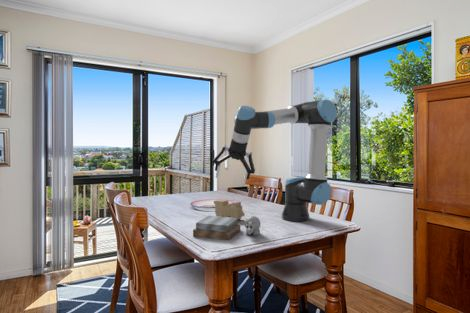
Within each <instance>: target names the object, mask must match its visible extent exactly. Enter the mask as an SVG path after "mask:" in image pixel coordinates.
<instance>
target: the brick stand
mask: <svg viewBox="0 0 470 313" xmlns="http://www.w3.org/2000/svg"><path fill="white" fill-rule="evenodd" d="M240 231H241V223H239V220H238V218H231V217H219V216H215V215H208V216H205V218H202V219H201V220H198V221H196V222H195V228H193V229H192V236H193V237H194V238H206V239H212V240H213V239H215V240H224V241H231V239H232V238H233V237H234V236H235V235H236V234H238V233H239V232H240Z"/></svg>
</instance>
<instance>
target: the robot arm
mask: <svg viewBox="0 0 470 313" xmlns="http://www.w3.org/2000/svg"><path fill="white" fill-rule="evenodd" d="M337 115H338V111H337V107H336V105H335V104H334V102H333V101H331V100H330V99H319V100H313V101H306V102H302V103H299V104H295V105H291V106H288V107H287V108H279V109H272V110H265V111H256V109H255V108H253V107H252V106H249V105H248V106H247V105H241V106H239V107H238V109H237V113H236V116H235V118H234V120H233V121H234V126H233V131H232V136H231V139H230V145H229V147H227V146H226V145H223V147H222V149H221V150H220V151H219V153H217V155H216V156H215V157H214V158H213V159H212V163H213V164H215V167H214V171H215V172H216V173H215V178H216V179H217V178H218V177H219V175H220V174H219V173H220V168H221V164H222V163H223V162H225V161H227V160H229V159H232V160H237V161H240V163H242V166H243V167H244V169H245V171H246V172H245V176H244V178H243V179H244V180H243V183H242V186H244V187H245V185H246V182H247V180H249V179H250V176H251V174H255V172H256V168H255V165H254V162H253V161H254V160H253V152H247V147H248V144H249V143H248V142H249V139H250V135H251V132H252V130H254V129H255V130H256V129H271V128H273V127H274V126H275V125H283V124H287V123H288V124H291V125H292V124H307V126H308V127H309V129H310V136H309V150H308V163H307V164H308V166H307V167H308V169H307V175H305V176H304V177H292V178H290V177H289V178H286V179H285V183H284V184H285V185H284V187H285V188H284V194H285V195H284V196H285V197H284V199H285V200H284V207H283V210H282V213H281V219H282V220H285V221H288V222H295V223H296V222H297V223H298V222H299V223H300V222H307V221H310V213H309V209H308V206H307V203H308V204H313V205H319V206H323V205H325V204H326V203H328V201H329V200H330V199H331V197H332V192H333V191H332V186H331V184H329V183H328V177H326V164H327V163H326V160H327V159H326V158H327V149H328V148H327V144H328V132H329V129H330V128H331V127H332V123H333V122H334V121H335V120H336V119H337ZM224 152H228V154H226V155H225V156H223V157H222V155H223V154H224ZM246 157H247V160H248V162H247V160H246ZM248 163H249V164H248Z"/></svg>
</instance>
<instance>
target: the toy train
mask: <svg viewBox="0 0 470 313" xmlns="http://www.w3.org/2000/svg"><path fill="white" fill-rule="evenodd" d="M213 204H214V209H215V211H214V214H215V215H216V216H219V217H231V218H238V221H239V220H241V219H242V218H243V217H245V215H246V214H245V212H244V211H243V205H242V201H240V200H239V201H238V200H237V201H235V202H230V203H229V200H228V199H216V200H214V201H213Z"/></svg>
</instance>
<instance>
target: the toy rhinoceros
mask: <svg viewBox="0 0 470 313" xmlns="http://www.w3.org/2000/svg"><path fill="white" fill-rule="evenodd" d="M244 225H245V230H246V231H245V235H247V236H251V235H253V236H255V237H257V236H259V235H260V233H261V231H260V228H261V220H260V219H259V217H257V216H255V215H251V216H248V217H247V218H246V219H245V221H244Z"/></svg>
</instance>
